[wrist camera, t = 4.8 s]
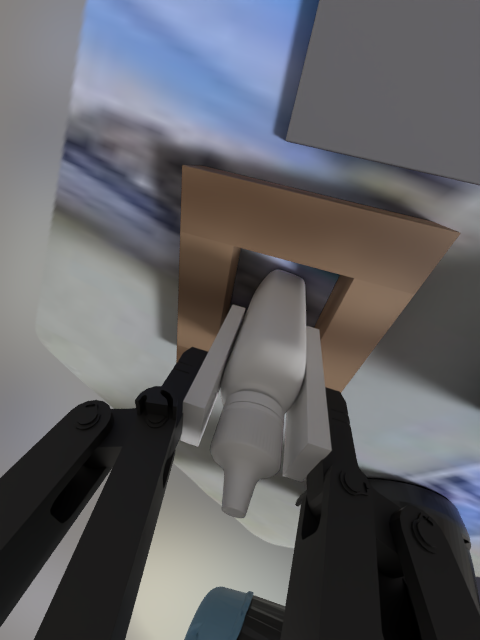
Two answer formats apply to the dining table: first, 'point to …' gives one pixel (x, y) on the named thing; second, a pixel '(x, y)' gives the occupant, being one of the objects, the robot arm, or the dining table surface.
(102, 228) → the dining table surface
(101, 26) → the dining table surface
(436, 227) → the bottle holder
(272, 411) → the eye dropper bottle
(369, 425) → the dining table surface
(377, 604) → the robot arm
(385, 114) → the rubber mat
